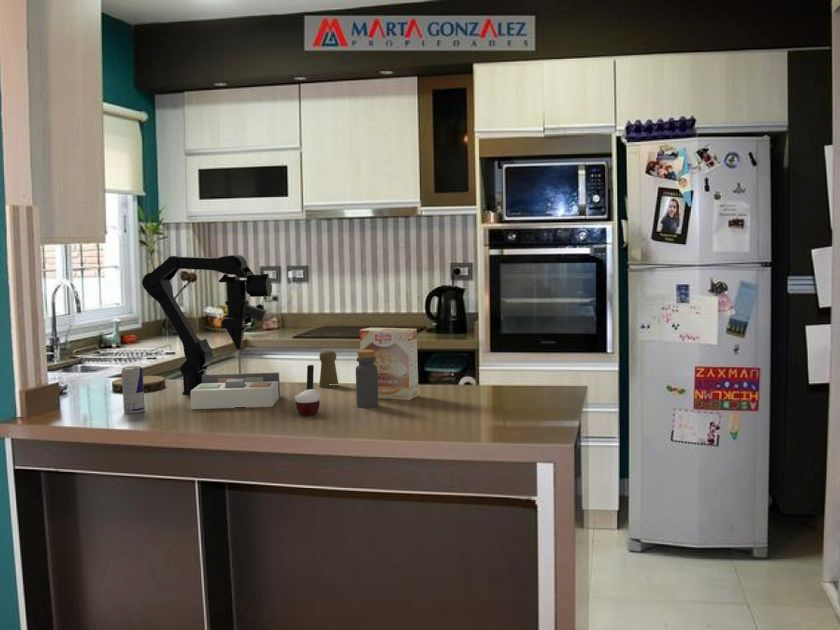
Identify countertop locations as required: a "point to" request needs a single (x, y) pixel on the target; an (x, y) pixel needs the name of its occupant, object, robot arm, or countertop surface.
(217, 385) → the sage key
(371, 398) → the bottle
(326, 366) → the cork
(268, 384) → the terracotta key
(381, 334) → the coffeecake box
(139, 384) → the energy drink
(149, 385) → the wood slice
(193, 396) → the keypad housing
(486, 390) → the countertop surface
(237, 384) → the slate key
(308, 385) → the rounded body with stick
